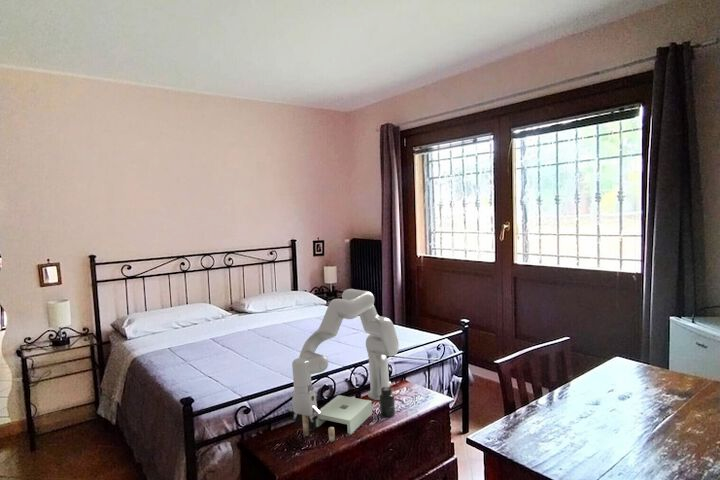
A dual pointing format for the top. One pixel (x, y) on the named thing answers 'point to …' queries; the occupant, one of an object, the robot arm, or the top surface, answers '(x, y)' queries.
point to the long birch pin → (305, 425)
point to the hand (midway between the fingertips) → (305, 427)
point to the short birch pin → (331, 434)
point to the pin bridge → (345, 412)
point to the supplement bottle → (387, 402)
